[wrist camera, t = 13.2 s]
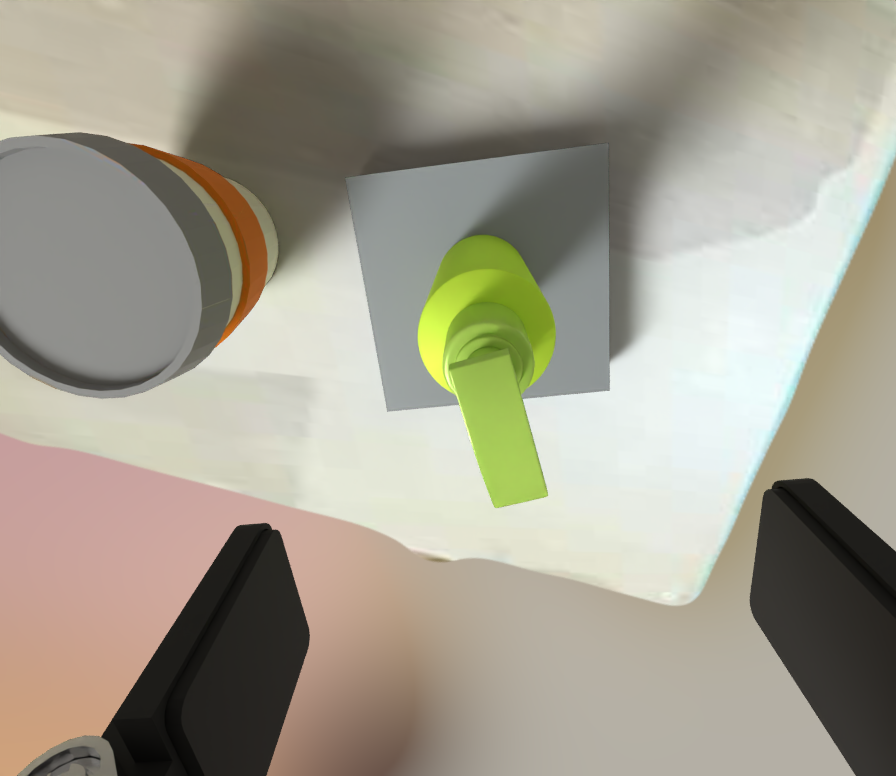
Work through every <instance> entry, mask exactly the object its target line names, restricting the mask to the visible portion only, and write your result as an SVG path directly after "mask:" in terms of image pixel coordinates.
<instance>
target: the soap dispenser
mask: <svg viewBox="0 0 896 776" xmlns="http://www.w3.org/2000/svg"><path fill="white" fill-rule="evenodd" d="M555 341H556V327H555V321H554V317H553V314H552V311H551V308H550V306H549V304H548V302H547V301H546V299H545V297H544V295H543V294H542V292H541V290H540V288H539V287H538V285H537V283H536V282H535V280H534V278H533V276H532V275H531V273H530V271H529V269H528V268H527V266H526V264H525V262H524V261H523V259H522V257H521V256H520V254H519V253H518V251H517V250H516V249H515V248H514V247H513V246H512V245H511V244H509V243H508V242H506V241H505V240H503V239H501V238H498V237H495V236H491V235H475V236H471V237H468V238H465V239H463V240H461V241H459V242H458V243H456V244H455V245H454V246H453V247H452V248H451V249H450V250H449V251H448V252H447V253H446V255H445V256H444V258H443V260H442V262H441V264H440V267H439V269H438V272H437V274H436V277H435V280H434V282H433V285H432V288H431V290H430V293H429V295H428V298H427V301H426V303H425V306H424V308H423V311H422V314H421V317H420V320H419V325H418V347H419V351H420V355H421V358H422V360H423V363H424V365H425V367H426V368H427V370H428V372H429V373H430V374H431V376H432V377H433V378H434V379H435V380H436V381H437V382H438V383H439V384H440V385H441V386H442V387H444V388H445V389H446V390H448V391H449V392H451V393H453V394H455V395H456V396H457V399H458V402H459V406H460V409H461V412H462V415H463V419H464V422H465V425H466V428H467V431H468V434H469V438H470V441H471V444H472V447H473V450H474V453H475V456H476V459H477V462H478V465H479V468H480V471H481V474H482V476H483V479H484V482H485V484H486V487H487V490H488V492H489V495H490V498H491V500H492V503H493V505H494V507H495V508H499V507H504V506H508V505H513V504H518V503H522V502H526V501H531V500H535V499H539V498H544V497H547V496H548V492H547V488H546V484H545V480H544V476H543V472H542V469H541V465H540V462H539V458H538V454H537V451H536V447H535V443H534V440H533V436H532V432H531V429H530V425H529V421H528V418H527V414H526V410H525V407H524V403H523V399H522V396H521V395H522V394H523V392H524V391H525V390H526V389H527V388H528V387H530V386H531V385H532V384H533V383H534V382H536V381H537V379H538V378H539V377H540V376H541V375H542V374H543V372H544V371H545V369H546V368H547V366H548V364H549V362H550V360H551V357H552V355H553V351H554V347H555Z"/></svg>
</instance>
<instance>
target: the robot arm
mask: <svg viewBox="0 0 896 776" xmlns="http://www.w3.org/2000/svg"><path fill="white" fill-rule="evenodd" d="M750 606H751V610H752V614H753V616H754V618H755V620H756V622H757V623H758V625H759V626H760V628H761V629H762V631H763V632H764V634H765V636H766V637H767V639H768V640H769V642H770V643H771V645H772V647H773V648H774V649H775V651H776V653H777V654H778V656H779V657H780V659H781V660H782V662H783V664H784V665H785V667H786V668H787V670H788V671H789V673H790V674H791V676H792V677H793V679H794V680H795V682H796V684H797V685H798V687H799V688H800V690H801V691H802V693H803V695H804V696H805V698H806V699H807V701H808V702H809V704H810V705H811V707H812V708H813V710H814V712H815V713H816V715H817V716H818V718H819V719H820V721H821V722H822V724H823V725H824V727H825V729H826V730H827V732H828V733H829V735H830V736H831V738H832V739H833V741H834V743H835V744H836V745H837V747H838V749H839V750H840V752H841V753H842V755H843V756H844V758H845V760H846V761H847V763H848V764H849V766H850V767H851V769H852V770H853V772H854V774H855V775H856V776H896V551H894V550H893V549H892V548H891V547H890V546H889V545H888V544H887V543H885V542H884V541H883V540H882V539H881V538H880V537H879V536H878V535H876V534H875V533H874V532H873V531H872V530H871V529H869V528H868V527H867V526H866V525H865V524H864V523H863V522H862V521H861V520H859V519H858V518H857V517H856V516H855V515H854V514H852V512H850V511H849V510H848V509H847V508H846V507H845V506H844V505H842V504H841V503H840V502H839V501H838V500H837V499H836V498H835V497H833V496H832V495H831V494H830V493H829V492H828V491H827V490H826V489H824V488H823V487H822V486H821V485H820V484H819V483H818V482H816V481H815V480H813V479H809V478H805V479H795V480H794V479H793V480H781V481H777V482H775V483H774V484H773V486H772V489H768V490H766V491H765V492H764V495H763V501H762V509H761V516H760V524H759V533H758V539H757V547H756V555H755V562H754V570H753V578H752V585H751V593H750ZM309 638H310V634H309V627H308V624H307V621H306V617H305V614H304V611H303V607H302V604H301V600H300V597H299V594H298V590H297V587H296V584H295V580H294V577H293V573H292V570H291V567H290V564H289V560H288V557H287V553H286V550H285V547H284V543H283V540H282V537H281V534H280V532H279V531H278V530H272V528H271V526H270V525H269V524H267V523H261V524H249V525H240V526H237V527H236V528H235V529H234V531H233V532H232V534H231V535H230V537H229V539H228V540H227V542H226V543H225V545H224V546H223V548H222V549H221V551H220V553H219V554H218V556H217V557H216V559H215V560H214V562H213V564H212V565H211V567H210V568H209V570H208V571H207V573H206V574H205V576H204V578H203V579H202V581H201V582H200V584H199V585H198V587H197V588H196V590H195V592H194V593H193V595H192V596H191V598H190V599H189V601H188V602H187V604H186V606H185V607H184V609H183V610H182V612H181V614H180V615H179V616H178V618H177V619H176V621H175V623H174V624H173V626H172V627H171V629H170V630H169V632H168V633H167V635H166V636H165V638H164V640H163V641H162V643H161V644H160V646H159V647H158V649H157V651H156V652H155V654H154V655H153V657H152V658H151V660H150V661H149V663H148V665H147V666H146V668H145V669H144V671H143V672H142V674H141V675H140V677H139V679H138V680H137V682H136V683H135V685H134V686H133V688H132V689H131V691H130V692H129V694H128V696H127V697H126V699H125V701H124V702H123V703H122V705H121V707H120V708H119V710H118V711H117V713H116V714H115V716H114V718H113V719H112V721H111V722H110V724H109V725H108V727H107V729H106V730H105V732H104V733H103V735H102V737H99V736H82V737H78V738H74V739H70V740H67V741H65V742H63V743H61V744H59V745H57V746H55V747H53V748H51V749H49V750H48V751H46V752H45V753H44V754H42V755H41V756H39V757H38V758H36V759H35V760H33V761H32V762H31V763H30V764H29V765H28V766H27V767H26V768H25V769H24V770H23V771H21V772H20V773H19V774H18V775H17V776H266V775H267V772H268V769H269V766H270V763H271V760H272V757H273V754H274V751H275V747H276V745H277V742H278V738H279V735H280V732H281V729H282V726H283V723H284V720H285V717H286V714H287V711H288V708H289V705H290V702H291V699H292V696H293V693H294V690H295V687H296V683H297V680H298V678H299V675H300V671H301V668H302V665H303V662H304V659H305V656H306V653H307V650H308V646H309Z"/></svg>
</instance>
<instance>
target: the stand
mask: <svg viewBox="0 0 896 776" xmlns="http://www.w3.org/2000/svg"><path fill="white" fill-rule="evenodd" d="M345 180H346V186H347V191H348V197H349V202H350V208H351V213H352V219H353V224H354V230H355V235H356V241H357V246H358V252H359V257H360V263H361V268H362V274H363V280H364V285H365V291H366V296H367V302H368V307H369V313H370V318H371V324H372V329H373V335H374V340H375V346H376V351H377V357H378V363H379V368H380V374H381V379H382V385H383V390H384V396H385V401H386V407H387V412H388V411H398V410H409V409H419V408H430V407H440V406H451V405H459V402H458V399H457V396H456V395H455V394H453V393H451V392H449V391H448V390H446V389H445V388H444V387H442V386H441V385H440V384H439V383H438V382H437V381H436V380H435V379H434V378H433V377H432V376H431V374H430V373H429V372H428V370H427V368H426V367H425V365H424V363H423V360H422V358H421V355H420V351H419V347H418V325H419V320H420V317H421V314H422V311H423V308H424V306H425V303H426V301H427V298H428V295H429V293H430V290H431V288H432V285H433V282H434V280H435V277H436V274H437V272H438V269H439V267H440V264H441V262H442V260H443V258H444V256H445V255H446V253H447V252H448V251H449V250H450V249H451V248H452V247H453V246H454V245H455V244H456V243H458V242H459V241H461V240H463V239H465V238H468V237H471V236H475V235H491V236H495V237H498V238H501V239H503V240H505V241H506V242H508V243H509V244H511V245H512V246H513V247H514V248H515V249H516V250H517V251H518V253H519V254H520V256H521V257H522V259H523V261H524V262H525V264H526V266H527V268H528V269H529V271H530V273H531V275H532V276H533V278H534V280H535V282H536V283H537V285H538V287H539V288H540V290H541V292H542V294H543V295H544V297H545V299H546V301H547V302H548V304H549V306H550V308H551V311H552V314H553V317H554V321H555V327H556V341H555V347H554V351H553V355H552V357H551V360H550V362H549V364H548V366H547V368H546V369H545V371H544V372H543V374H542V375H541V376H540V377H539V378H538V379H537V381H536V382H534V383H533V384H532V385H531V386H530V387H528V388H527V389H526V390H525V391H524V392H523V394H522V395H521V396H522V399H525V398H536V397H546V396H557V395H567V394H578V393H589V392H599V391H610V366H609V143H602V144H595V145H587V146H580V147H572V148H564V149H557V150H549V151H542V152H534V153H527V154H519V155H511V156H504V157H496V158H489V159H481V160H474V161H466V162H458V163H451V164H443V165H436V166H428V167H421V168H413V169H406V170H398V171H390V172H383V173H375V174H368V175H360V176H353V177H345Z"/></svg>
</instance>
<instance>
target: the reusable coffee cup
mask: <svg viewBox="0 0 896 776" xmlns="http://www.w3.org/2000/svg"><path fill="white" fill-rule="evenodd" d="M277 259H278V238H277V233H276V229H275V226H274V224H273V221H272V218H271V217H270V215H269V213H268V212H267V210H266V208H265V207H264V205H263V204H262V203H261V202H260V201H259V199H258V198H257V197H256V196H255V195H254V194H253V193H251V192H250V191H249V190H248V189H247V188H245V187H244V186H242V185H240V184H239V183H237V182H235V181H233V180H230V179H227V178H225V177H222V176H221V175H220V174H218V173H216V172H215V171H213V170H211V169H209V168H208V167H206V166H204V165H202V164H199V163H197V162H194V161H191V160H188V159H185V158H182V157H179V156H176V155H172V154H169V153H166V152H163V151H160V150H157V149H154V148H150V147H147V146H144V145H137V144H130V143H125V142H122V141H119V140H117V139H114V138H111V137H108V136H102V135H95V134H88V133H65V134H50V135H35V136H24V137H12V138H8V139H5V140H2V141H0V355H1V356H3V357H4V358H5V359H6V360H7V361H8V362H9V363H11V364H12V365H14V366H15V367H17V368H18V369H20V370H21V371H23V372H24V373H26V374H27V375H29V376H30V377H32V378H34V379H36V380H38V381H40V382H43V383H45V384H47V385H49V386H51V387H53V388H55V389H59V390H62V391H65V392H69V393H72V394H75V395H79V396H86V397H94V398H120V397H127V396H131V395H135V394H139V393H142V392H146V391H148V390H150V389H152V388H154V387H156V386H159V385H161V384H163V383H165V382H167V381H169V380H171V379H174V378H176V377H178V376H180V375H182V374H184V373H185V372H187V371H189V370H191V369H193V368H195V367H196V366H197V365H198V364H199V363H201V362H202V361H203V360H204V359H205V358H206V357H208V356H209V355H210V353H211V352H212V350H213V349H214V348H215V347H217V346H218V345H219V344H220V343H221V342H222V341H223V340H225V339H226V338H227V337H228V336H229V335H230V334H231V333H232V332H233V331H234V329H235V328H236V327H237V326H238V325H239V324H240V323H241V321H242V320H243V319H244V318H245V317H246V316H247V315H248V313H249V312H250V311H251V310H252V308H253V307H254V306H255V304H256V303H257V301H258V300H259V298H260V295H261V293H262V291H263V288H264V286H265V285H266V284H267V282H268V281H269V280H270V278H271V277H272V275H273V272H274V270H275V268H276V264H277Z"/></svg>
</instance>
